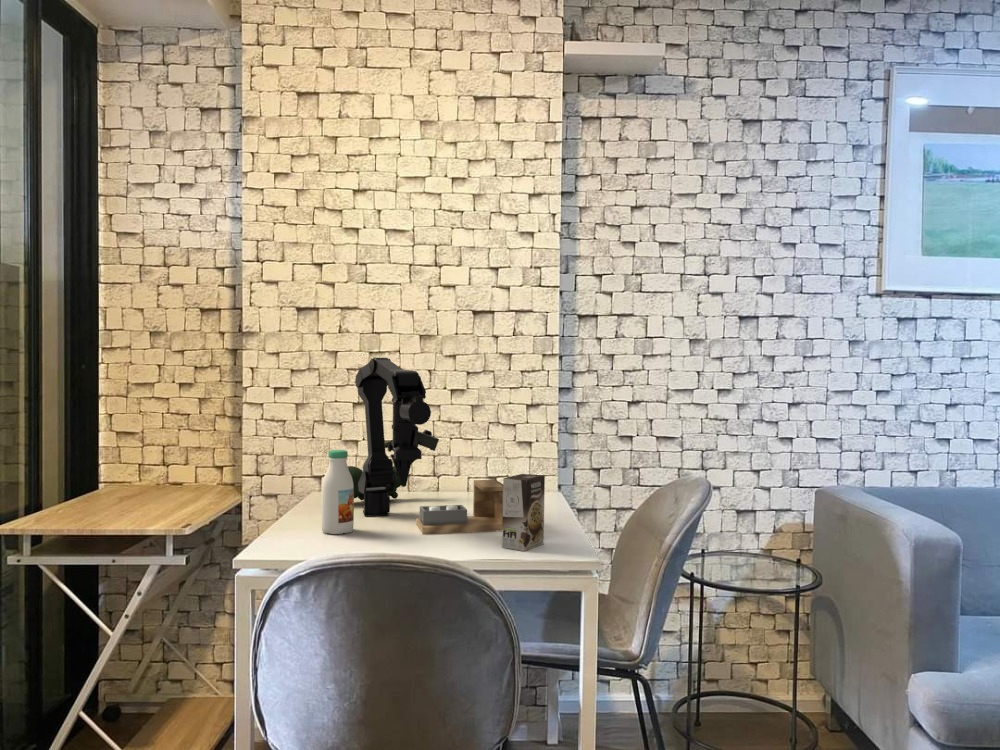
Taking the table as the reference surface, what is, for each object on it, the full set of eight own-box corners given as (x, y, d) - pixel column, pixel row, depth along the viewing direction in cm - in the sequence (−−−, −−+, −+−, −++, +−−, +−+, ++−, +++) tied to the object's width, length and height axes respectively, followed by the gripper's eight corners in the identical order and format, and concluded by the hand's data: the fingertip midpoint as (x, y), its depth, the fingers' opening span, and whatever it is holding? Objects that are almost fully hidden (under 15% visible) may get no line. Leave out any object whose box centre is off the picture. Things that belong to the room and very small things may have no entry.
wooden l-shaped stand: (422, 534, 192) (422, 489, 192) (416, 524, 202) (416, 481, 202) (505, 530, 197) (506, 486, 197) (495, 521, 208) (495, 479, 207)
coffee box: (525, 552, 176) (526, 480, 175) (501, 547, 179) (501, 477, 179) (545, 543, 184) (546, 474, 183) (521, 540, 187) (522, 472, 187)
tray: (423, 525, 194) (423, 510, 194) (419, 520, 200) (419, 505, 200) (467, 523, 197) (467, 508, 197) (461, 518, 203) (462, 503, 203)
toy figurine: (396, 502, 241) (316, 502, 228) (401, 440, 241) (323, 436, 229) (409, 507, 233) (327, 507, 220) (414, 443, 233) (333, 440, 220)
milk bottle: (326, 536, 189) (326, 453, 188) (318, 529, 195) (318, 449, 195) (357, 533, 192) (358, 451, 192) (348, 526, 199) (348, 448, 198)
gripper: (442, 424, 188) (442, 489, 189) (430, 418, 206) (430, 477, 207) (396, 424, 186) (395, 490, 186) (387, 418, 204) (387, 478, 204)
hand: (403, 484), depth 196 cm, fingers closed
